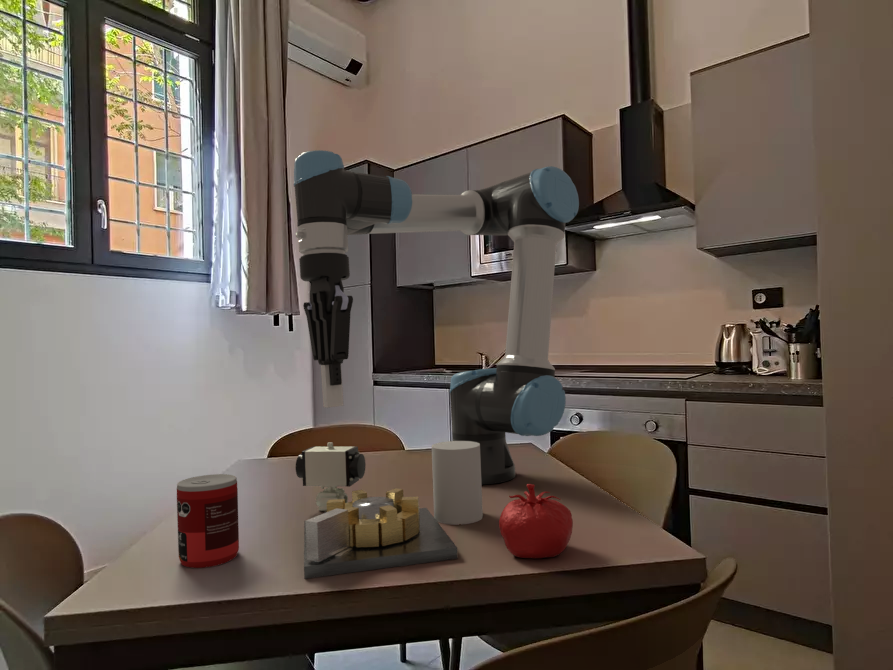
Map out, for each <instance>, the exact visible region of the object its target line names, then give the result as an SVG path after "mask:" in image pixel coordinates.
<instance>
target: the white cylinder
mask: <svg viewBox="0 0 893 670" xmlns="http://www.w3.org/2000/svg"><path fill="white" fill-rule="evenodd" d="M431 464H432V465H431V466H432V467H431V468H432V470H431V472H432V489H433V491H432V497H433V498H432V499H433V517H434V518H435V519H436V521H437V522H438V523H439V524H444V525H455V526H456V525H457V526H458V525H459V524H461V525H468V524H473V523H476V522H479V521H481V520H483V517H484V514H483V511H484V510H483V494H482V493H483V492H482V491H483V490H482V485H483V484H481V459H480V444H479V443H477V442H471V441H452V440H450V441H448V440H447V441H442V442H437V443H433V444H432V445H431Z"/></svg>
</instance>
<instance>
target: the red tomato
mask: <svg viewBox="0 0 893 670" xmlns="http://www.w3.org/2000/svg"><path fill="white" fill-rule="evenodd" d="M535 487H536V486H535V484H532V483H527V484H526V488H527V490H528V491H527V490H525V491H523V494H524V495H525V496H523V495H522V494H514V495H509V498H510V499H513V500H511V501H510V502H508V503H507V504H506V505H505V507H504V508H503V509H502V511H501V514H500V516H499V521H498V527H499V531H500V535H501V536H502V538H503V540H504V543H505V546H506V547H505V548H506V549H507V550H508V552H510V554H512V555H513V556H514V557H517V558H521V559H543V558H553V557H557V556H558V555H560V554H561V553H563V552H564V551H565V550H566V548H567V547H568V546H567V545H568V544H569V542H570V541H571V537H572V533H573V524H574V523H573V522H574V521H573V514H572V511H571V510H570V509H569V508H568V507H567V506H565V505H564V504H563V503H561V502H560V501H561V500H562V499H561V498H559V497H557V496H555V495H548V496H546V497H543V495H544V494H549V493H551V492H550V491H542V492H540V493H539V494H538V495H536V491H535ZM555 499H558V500H560V501H558V500H555Z"/></svg>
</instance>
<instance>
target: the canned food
mask: <svg viewBox="0 0 893 670" xmlns="http://www.w3.org/2000/svg"><path fill="white" fill-rule="evenodd" d="M238 489H239V488H238V479H237V475H233V474H224V473H222V474H221V473H220V474H219V473H216V474H215V473H214V474H205V475H198V476H192V477H188V478H185V479H182V480H180V481H178V482H177V484H176V514H177V515H176V518H177V541H178V542H177V543H178V544H177V546H178V550H177V551H178V560H179V561H180V564H181V565H182V566H183V567H186V568H192V569H202V568H203V569H204V568H212V567H215V566H220V565H224V564H226V563H229V562H231V561H232V560H234V559H235V558H236V557H237V556H238V553H239V549H240V542H239V541H240V537H239V536H240V535H239V533H240V532H239V496H238V495H239V494H238V491H239V490H238Z"/></svg>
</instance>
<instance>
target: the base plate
mask: <svg viewBox="0 0 893 670" xmlns="http://www.w3.org/2000/svg"><path fill="white" fill-rule="evenodd" d="M388 505H391V506H392V507H394V502H393V499H391V498H387V497H386V496H369V497H368V496H367V498H363V499H359V500H356V501H354V502H353V507H356V508H359V519H360V520H364V519H380V511H379V507H383V506H388ZM419 513H420V529H419V533H418V534H417V535H415V536H413V537H411V538H409V539H408V540H406V541H405V540H403V542H398V543H394V544H390V545H385V546H382V545H379V547H356V546H354V547H348V548H346V549H344V550H342V551H340V552H338V553H336V554H334V555H332V556H330V557H328V558H326V559H324V560H322V561H320V562H315V561H311V560H307V550H306V520H304V521H303V522H304V524H303V525H304V526H303V528H304V529H303V535H304V536H303V539H304V540H303V541H304V542H303V576H304V579H312V578H319V577H320V578H321V577H329V576H335V575H342V574H343V575H344V574H350V573H357V572H358V573H359V572H365V571H372V570H373V571H374V570H375V571H376V570H381V569H389V568H397V567H403V566H412V565H418V564H419V565H420V564H426V563H432V562H433V563H435V562H443V561H450V560H457V559H458V558H459V557H458V547H457V545H456V544H455V542H453V540H452V539H451V537H450V536H449V535H448V533H447V532H446V531H445V530H444V528H443V526H442V525H440V522H437V521H436V519H435V518H434V515H433V514H432V513H431V511H430V510H429V509H428V508H427V507H419Z"/></svg>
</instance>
